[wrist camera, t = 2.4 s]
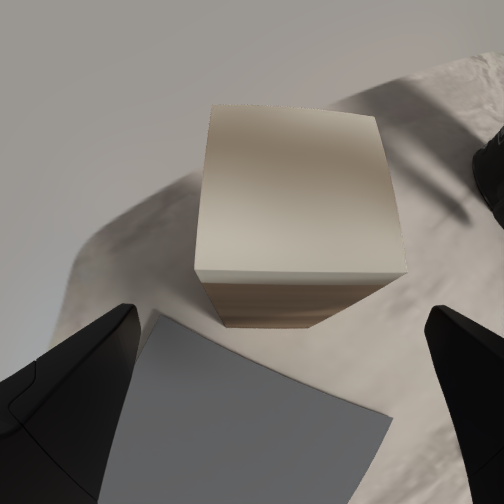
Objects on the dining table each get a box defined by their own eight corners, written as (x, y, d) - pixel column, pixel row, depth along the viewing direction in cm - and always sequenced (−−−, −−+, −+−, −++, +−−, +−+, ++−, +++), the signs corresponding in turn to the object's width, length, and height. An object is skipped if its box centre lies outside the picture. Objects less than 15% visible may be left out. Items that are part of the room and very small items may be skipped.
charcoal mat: (278, 585, 12) (278, 590, 11) (75, 498, 14) (72, 500, 13) (389, 416, 17) (393, 418, 16) (163, 315, 19) (161, 314, 18)
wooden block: (307, 328, 19) (407, 272, 7) (226, 327, 19) (194, 269, 7) (305, 251, 20) (374, 117, 9) (228, 249, 20) (211, 105, 8)
